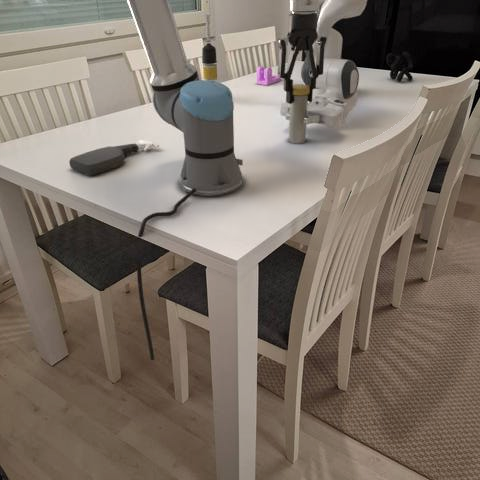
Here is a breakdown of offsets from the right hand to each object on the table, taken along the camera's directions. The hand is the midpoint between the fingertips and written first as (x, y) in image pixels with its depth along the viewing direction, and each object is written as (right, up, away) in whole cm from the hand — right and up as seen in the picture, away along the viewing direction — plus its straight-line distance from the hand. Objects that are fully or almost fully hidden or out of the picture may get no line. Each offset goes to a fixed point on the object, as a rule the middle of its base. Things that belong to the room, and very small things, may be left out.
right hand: (296, 119), depth 131 cm
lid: (0, +8, -4) cm, 9 cm away
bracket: (-3, +36, +71) cm, 79 cm away
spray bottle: (-51, -13, -7) cm, 53 cm away
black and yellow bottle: (-28, +21, +47) cm, 59 cm away
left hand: (+1, +5, -2) cm, 5 cm away
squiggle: (+55, +36, +69) cm, 96 cm away
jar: (+1, -5, +4) cm, 7 cm away
